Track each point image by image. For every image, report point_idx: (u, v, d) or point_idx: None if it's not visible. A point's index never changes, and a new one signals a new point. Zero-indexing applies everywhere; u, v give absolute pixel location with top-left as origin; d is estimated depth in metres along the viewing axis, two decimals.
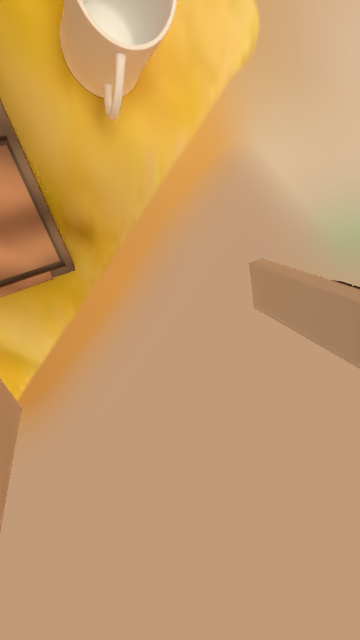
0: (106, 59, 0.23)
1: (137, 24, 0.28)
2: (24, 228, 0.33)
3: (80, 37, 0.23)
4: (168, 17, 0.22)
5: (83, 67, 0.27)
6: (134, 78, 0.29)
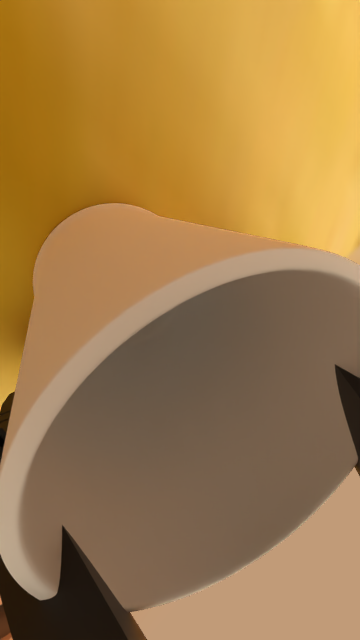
0: None
1: None
2: None
3: None
4: (344, 460, 0.07)
5: None
6: None
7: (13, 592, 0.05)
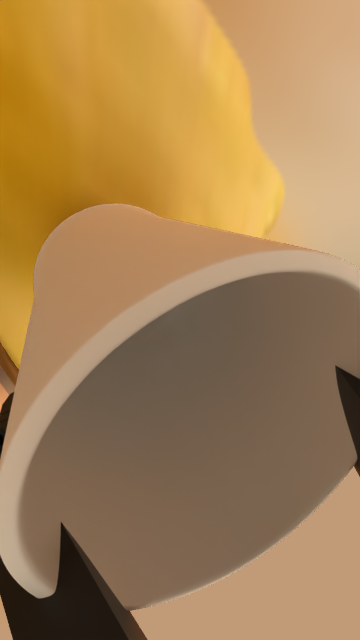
0: None
1: None
2: None
3: None
4: (342, 460, 0.07)
5: None
6: None
7: (13, 591, 0.05)
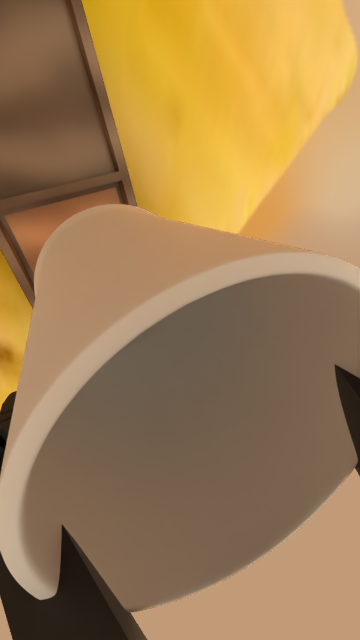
0: None
1: None
2: None
3: None
4: (344, 461, 0.07)
5: None
6: None
7: (13, 592, 0.05)
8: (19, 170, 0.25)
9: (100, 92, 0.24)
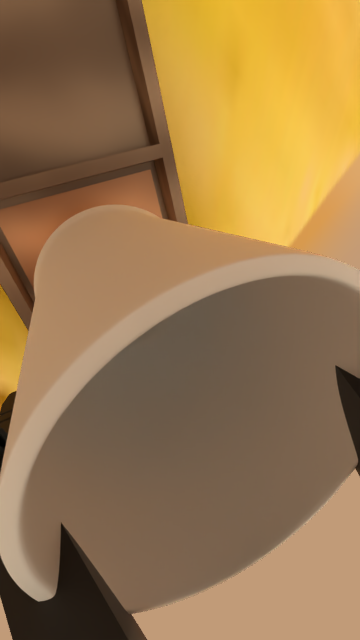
0: None
1: None
2: None
3: None
4: (343, 462, 0.07)
5: None
6: None
7: (13, 592, 0.05)
8: (12, 143, 0.17)
9: (136, 16, 0.15)
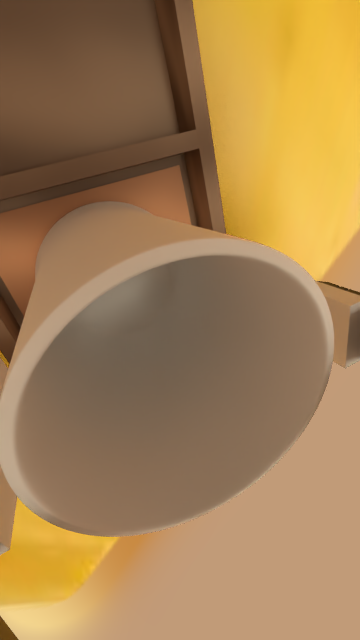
0: None
1: (184, 262, 0.14)
2: None
3: None
4: (294, 425, 0.08)
5: None
6: None
7: None
8: None
9: None
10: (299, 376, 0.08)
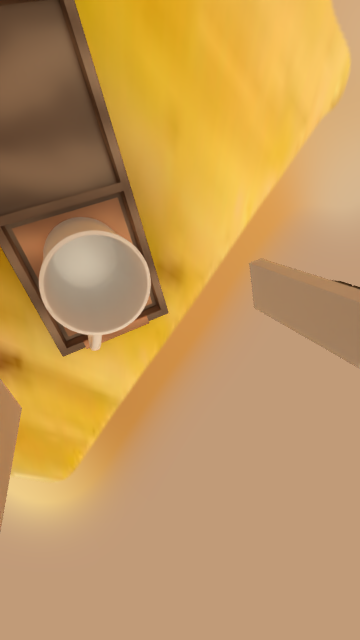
0: None
1: (118, 247, 0.29)
2: None
3: None
4: (143, 300, 0.22)
5: None
6: None
7: None
8: (25, 185, 0.26)
9: (101, 108, 0.25)
10: (144, 282, 0.22)
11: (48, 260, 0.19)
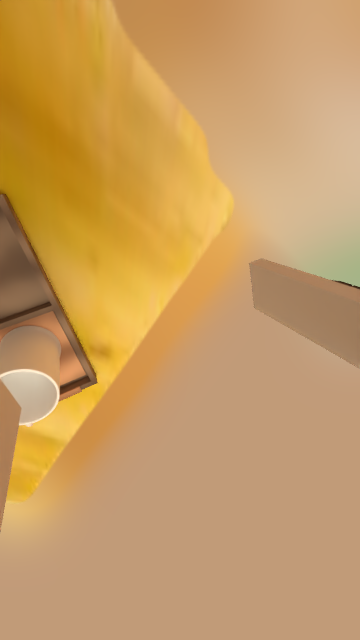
0: None
1: None
2: (62, 357, 0.45)
3: None
4: (55, 401, 0.35)
5: None
6: None
7: None
8: None
9: (33, 265, 0.37)
10: None
11: None
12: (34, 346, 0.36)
